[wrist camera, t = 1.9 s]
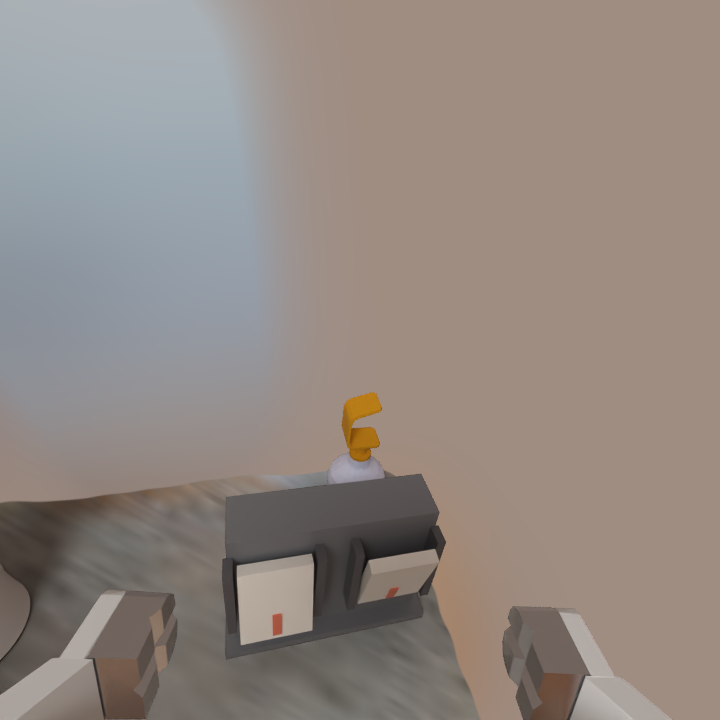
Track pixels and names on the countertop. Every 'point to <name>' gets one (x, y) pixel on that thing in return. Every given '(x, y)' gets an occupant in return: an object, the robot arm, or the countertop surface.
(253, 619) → the block
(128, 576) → the countertop surface
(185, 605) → the countertop surface
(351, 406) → the soap bottle
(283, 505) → the power panel
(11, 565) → the countertop surface
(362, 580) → the block
